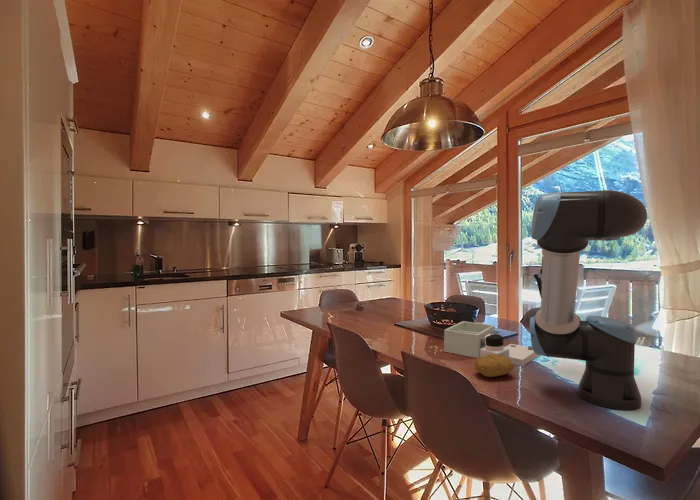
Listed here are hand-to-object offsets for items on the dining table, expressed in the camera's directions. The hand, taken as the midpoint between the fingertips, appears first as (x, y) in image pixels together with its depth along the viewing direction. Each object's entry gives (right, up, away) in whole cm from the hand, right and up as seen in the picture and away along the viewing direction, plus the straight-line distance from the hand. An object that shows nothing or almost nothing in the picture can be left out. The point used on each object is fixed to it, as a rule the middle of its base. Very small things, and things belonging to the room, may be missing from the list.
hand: (552, 319), depth 140 cm
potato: (-26, -17, -11) cm, 33 cm away
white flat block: (-10, -17, +8) cm, 21 cm away
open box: (-23, -16, +19) cm, 33 cm away
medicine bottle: (-23, -17, -5) cm, 29 cm away
